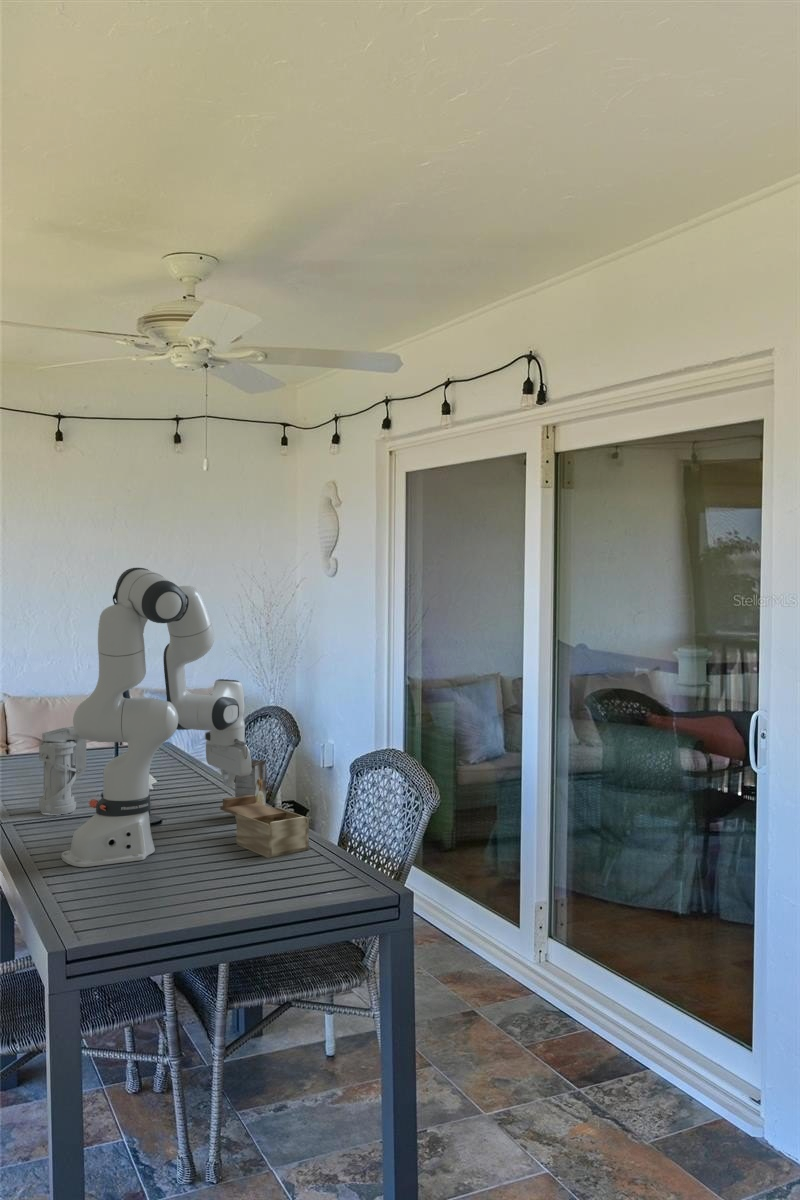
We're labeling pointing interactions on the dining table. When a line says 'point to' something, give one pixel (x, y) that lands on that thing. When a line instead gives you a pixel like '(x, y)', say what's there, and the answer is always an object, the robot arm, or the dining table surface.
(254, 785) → the coffee box
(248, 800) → the lid
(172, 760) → the dining table surface
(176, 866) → the dining table surface
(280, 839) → the crate
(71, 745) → the lantern
